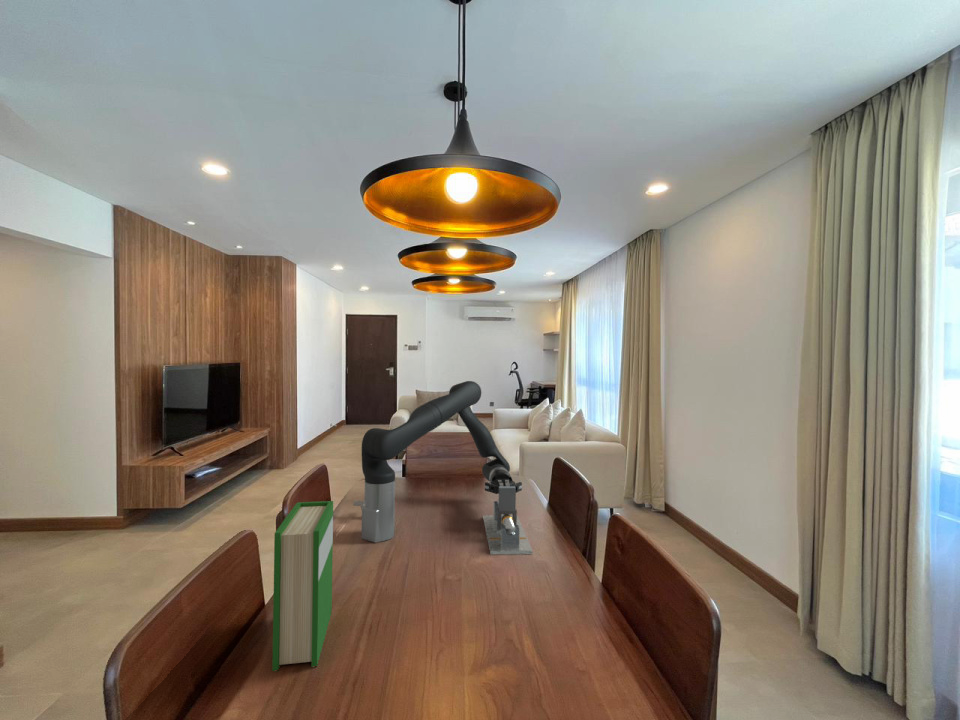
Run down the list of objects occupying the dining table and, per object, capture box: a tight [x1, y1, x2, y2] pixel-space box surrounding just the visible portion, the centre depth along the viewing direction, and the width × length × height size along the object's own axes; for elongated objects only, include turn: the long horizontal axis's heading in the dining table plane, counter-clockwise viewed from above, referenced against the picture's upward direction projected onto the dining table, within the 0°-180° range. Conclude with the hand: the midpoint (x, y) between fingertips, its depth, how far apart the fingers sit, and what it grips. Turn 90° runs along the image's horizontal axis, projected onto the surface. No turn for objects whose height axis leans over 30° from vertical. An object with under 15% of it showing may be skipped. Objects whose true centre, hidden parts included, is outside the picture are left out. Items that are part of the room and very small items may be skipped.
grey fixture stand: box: [482, 498, 533, 556], centre depth 143 cm, size 30×12×8 cm, turn 3°
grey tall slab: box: [497, 486, 518, 530], centre depth 139 cm, size 2×6×13 cm, turn 94°
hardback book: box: [271, 500, 334, 672], centre depth 88 cm, size 18×7×24 cm, turn 10°
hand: (506, 494), depth 140 cm, fingers closed
